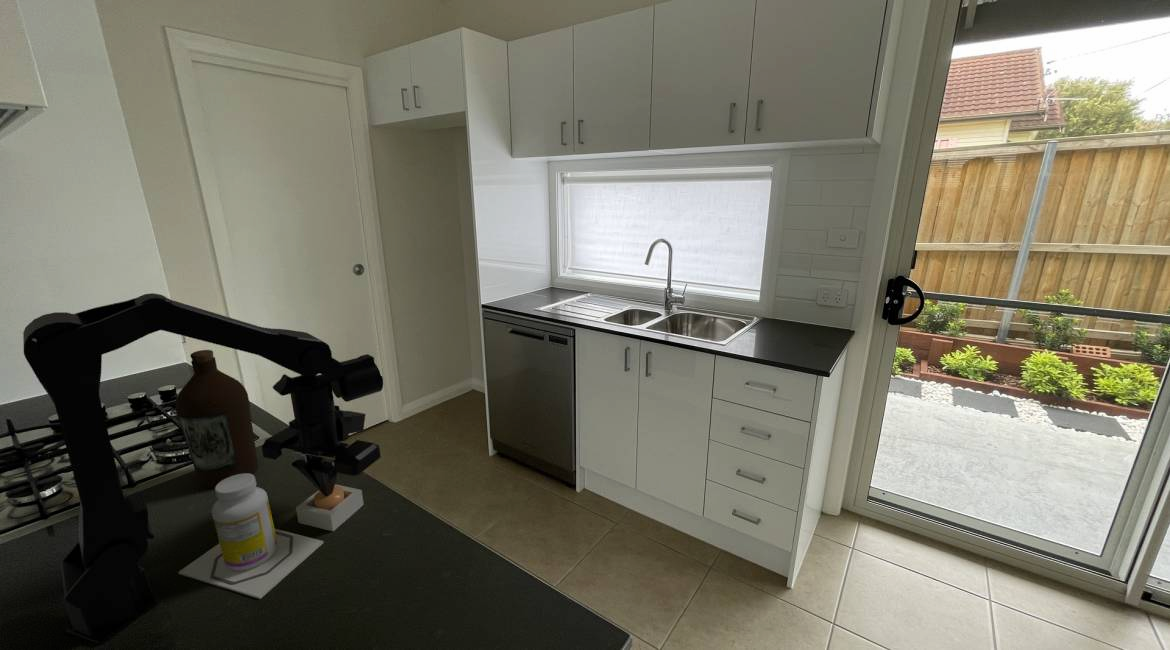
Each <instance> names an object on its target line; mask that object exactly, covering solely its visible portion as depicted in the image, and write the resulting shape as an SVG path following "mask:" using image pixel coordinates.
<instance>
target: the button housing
mask: <svg viewBox="0 0 1170 650" xmlns="http://www.w3.org/2000/svg"><path fill="white" fill-rule="evenodd" d="M335 486H338V487H341V488H342V489H343V491H344V498H345V499H344V500H343V501H342V502H340V503H339V504H338V505H337V506H335V507H334V508H333V509H332V510H331V511H329V510H325V509H321V508H317V507H315V501H314V496H315V495H316V493H317V492H319V490H317V491H316V492H314V493H313V494H312V495H311V496H308V498H307V499H305V500H304V501H302V502H301V503H300V504H299V505H297V506H296V507H295V510H296V511H295V512H296V515H297V521H298V523H299V524H302V525H306V526H311V527H314V528H318V529H320V530H321V529H323V530H326V531H330V532H335V530H337V529H338V528H339V527H340V526H341V525H342V524H343V523H345V521H347V520H348V519H350V517H352V516H353V515H354V514H355V513H356V512H357V511H358V510H359V509H361V508H362V506H364V499H363V498H364V497H363V490H362V489H359V488H355V487H349V486H345V485H340V484H336V483H335Z"/></svg>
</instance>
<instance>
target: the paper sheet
mask: <svg viewBox="0 0 1170 650" xmlns="http://www.w3.org/2000/svg"><path fill="white" fill-rule="evenodd" d="M275 533H276V537H277V549H276V551H275V552H274V554H273V555H272V556H271V557H270V558H269V559H268V560H266V561H265V562H263V563H262V564H260V565H258V566H256V567H253V568H250V569H246V570H231V569H229V568H228V567H227V566H226V565H225V562H224V559H223V555H222V551H221V547H220V543H219V542H218V543H217V545H215V546H213V547H212V548H210V549H209V550H208V551H206V552H205V553H204V554H202V555H201V556H199V557H198V558H196V559H195V560H193V561H192V562H190V563H189V564H188V565H187V566H184V567H183V568H182V569H181V570H179V571H178V572H177V573H178V574H179V575H181V576H184V577H188V578H191V579H194V580H198V581H201V582H204V583H207V584H210V585H213V586H216V587H219V588H223V589H227V590H230V591H233V592H236V593H238V594H239V593H240V594H243V595H246V596H248V597H253V598H255V599H259V600H261V599H262V598H263V597H264V596H265V595H267V593H269V592H270V591H271V590H272V589H274V587H275V586H277V585H278V584H279V583H280V582H281V581H282V580H284V579H285V578H286V576H288V575H289V574H290V573H292V571H294V570H296V568H297V567H298V566H299V565H301V563H302V562H304V561H305V560H307V558H308V557H309V556H310V555H311V554H313V553H315V551H316V550H317V549H318V548H320V546H322V545H323V544H324V540H320V539H316V538H312V537H310V536H305V535H300V534H296V533H293V532H289V531H285V530H281V529H278V528H275Z"/></svg>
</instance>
